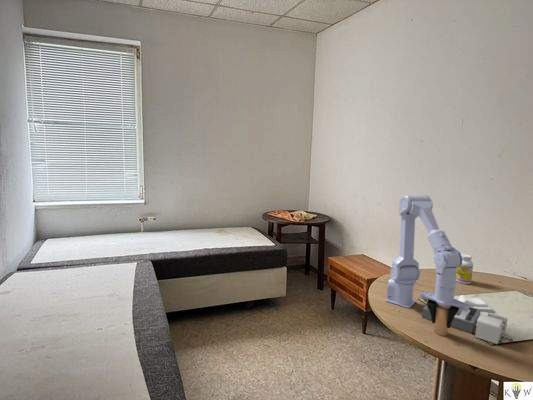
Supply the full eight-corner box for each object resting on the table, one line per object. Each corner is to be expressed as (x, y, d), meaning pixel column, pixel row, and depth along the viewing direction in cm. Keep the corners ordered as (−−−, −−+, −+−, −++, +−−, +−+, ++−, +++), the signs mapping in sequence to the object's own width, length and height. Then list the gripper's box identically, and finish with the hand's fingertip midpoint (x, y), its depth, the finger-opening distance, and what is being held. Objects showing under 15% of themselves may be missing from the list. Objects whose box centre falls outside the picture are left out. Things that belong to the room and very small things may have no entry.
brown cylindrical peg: (432, 332, 116) (435, 307, 115) (435, 328, 119) (438, 303, 118) (445, 337, 114) (448, 311, 112) (448, 332, 117) (451, 307, 115)
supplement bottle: (451, 279, 165) (454, 253, 163) (462, 278, 167) (465, 252, 165) (463, 285, 159) (466, 258, 157) (474, 283, 161) (477, 257, 159)
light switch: (449, 291, 145) (483, 292, 142) (449, 300, 145) (482, 302, 143) (458, 302, 134) (494, 303, 131) (457, 312, 135) (494, 314, 132)
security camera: (483, 309, 120) (477, 319, 113) (507, 316, 115) (502, 327, 108) (481, 326, 121) (474, 337, 114) (505, 334, 116) (500, 346, 109)
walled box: (422, 317, 127) (423, 308, 126) (433, 305, 137) (434, 296, 137) (471, 333, 116) (473, 323, 116) (479, 318, 127) (480, 309, 126)
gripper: (418, 283, 116) (415, 321, 118) (467, 296, 106) (462, 337, 108) (425, 277, 121) (421, 314, 123) (472, 289, 112) (467, 328, 114)
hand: (441, 324), depth 116 cm, fingers closed on brown cylindrical peg, 4 cm apart
